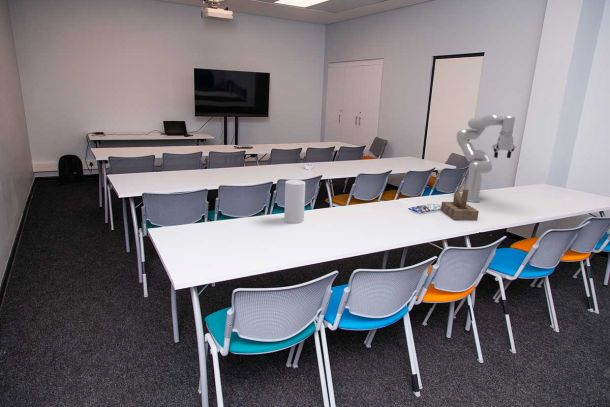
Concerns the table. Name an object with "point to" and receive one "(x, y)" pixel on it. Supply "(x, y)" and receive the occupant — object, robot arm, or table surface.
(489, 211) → the table surface
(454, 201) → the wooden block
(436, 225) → the table surface
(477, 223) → the table surface
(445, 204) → the end cap block
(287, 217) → the cylinder
